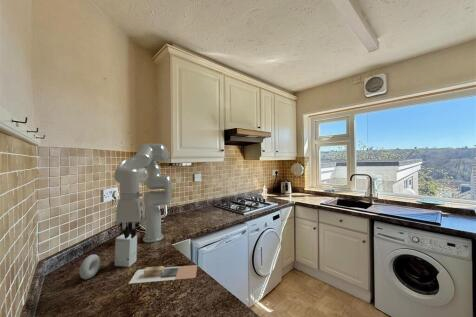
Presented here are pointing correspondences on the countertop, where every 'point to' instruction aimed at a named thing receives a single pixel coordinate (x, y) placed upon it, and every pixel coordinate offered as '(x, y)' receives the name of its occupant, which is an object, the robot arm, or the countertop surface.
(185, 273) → the board
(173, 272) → the turner
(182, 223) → the countertop surface
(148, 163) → the robot arm
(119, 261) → the skincare box
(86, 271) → the donut
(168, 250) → the countertop surface
